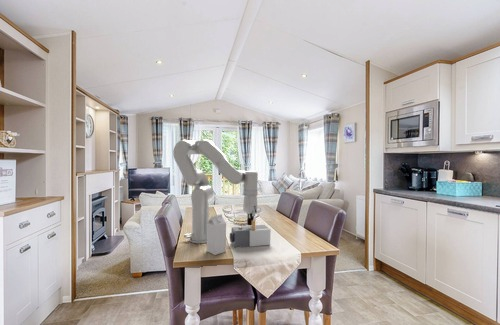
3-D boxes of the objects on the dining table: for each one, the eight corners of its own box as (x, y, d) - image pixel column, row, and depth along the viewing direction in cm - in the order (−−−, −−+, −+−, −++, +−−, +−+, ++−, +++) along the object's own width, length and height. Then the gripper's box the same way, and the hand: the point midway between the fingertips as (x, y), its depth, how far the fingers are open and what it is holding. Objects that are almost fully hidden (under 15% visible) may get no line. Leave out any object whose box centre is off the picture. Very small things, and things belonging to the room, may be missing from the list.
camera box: (232, 247, 144) (232, 229, 144) (228, 243, 152) (228, 226, 152) (269, 244, 151) (269, 227, 151) (263, 239, 159) (264, 223, 159)
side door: (250, 246, 146) (250, 220, 145) (249, 245, 148) (249, 220, 147) (270, 244, 150) (270, 219, 149) (269, 243, 151) (269, 218, 151)
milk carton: (206, 251, 139) (206, 215, 138) (217, 248, 144) (217, 213, 143) (214, 255, 133) (215, 217, 133) (225, 251, 138) (226, 215, 138)
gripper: (239, 191, 157) (239, 222, 157) (249, 194, 143) (249, 228, 144) (251, 190, 160) (251, 221, 160) (262, 194, 146) (262, 227, 147)
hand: (250, 224), depth 152 cm, fingers closed
